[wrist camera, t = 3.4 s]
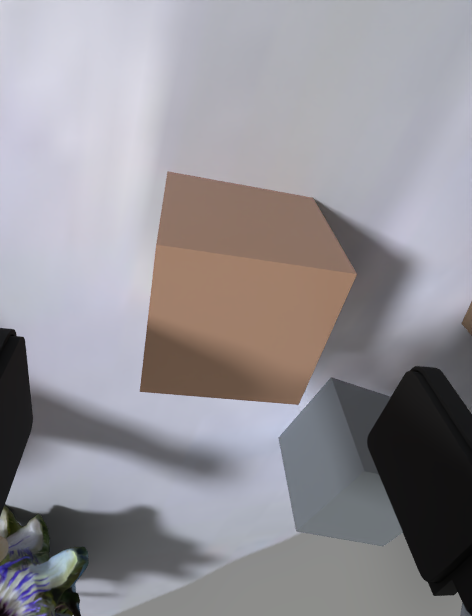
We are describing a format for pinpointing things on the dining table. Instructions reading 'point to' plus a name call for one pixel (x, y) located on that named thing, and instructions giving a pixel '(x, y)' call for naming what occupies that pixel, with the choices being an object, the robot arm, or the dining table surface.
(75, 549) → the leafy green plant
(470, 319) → the walnut cube
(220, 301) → the terracotta cube
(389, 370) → the dining table surface
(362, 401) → the slate grey cube
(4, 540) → the grandmother figurine
